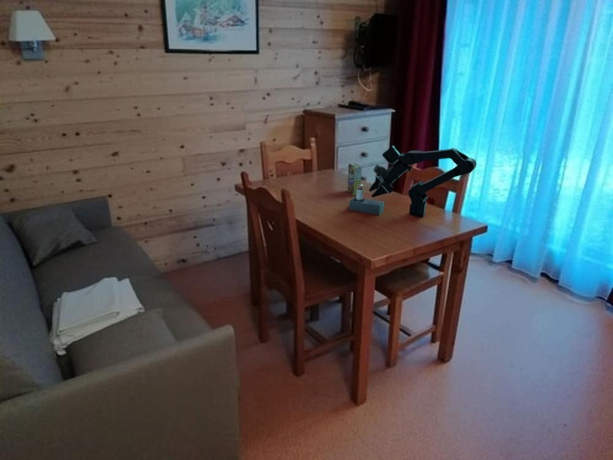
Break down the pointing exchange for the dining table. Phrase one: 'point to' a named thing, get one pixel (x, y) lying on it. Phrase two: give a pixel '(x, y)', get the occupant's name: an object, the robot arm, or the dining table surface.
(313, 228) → the dining table surface
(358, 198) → the steel pin
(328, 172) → the dining table surface
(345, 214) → the dining table surface
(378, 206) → the bar
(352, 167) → the candy box
